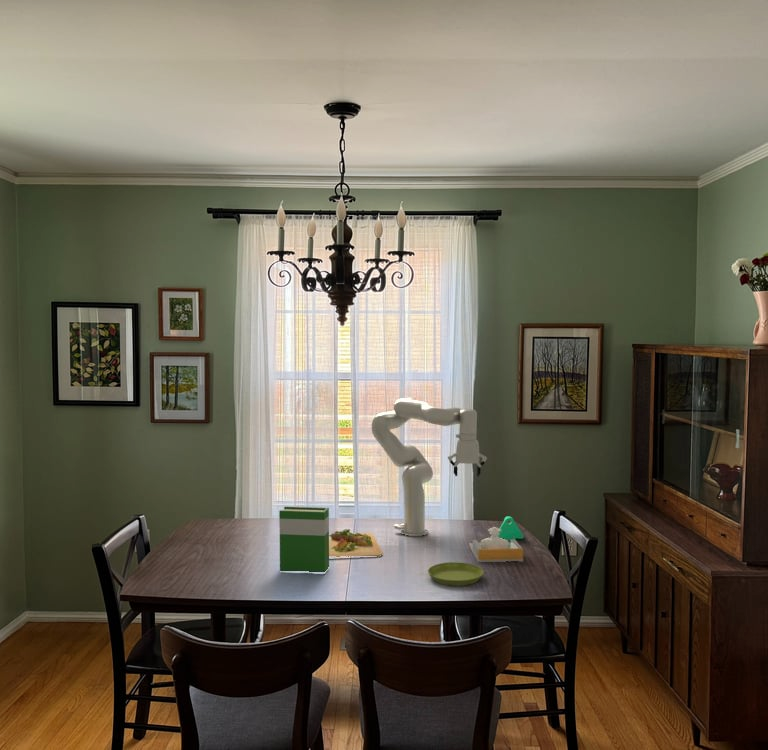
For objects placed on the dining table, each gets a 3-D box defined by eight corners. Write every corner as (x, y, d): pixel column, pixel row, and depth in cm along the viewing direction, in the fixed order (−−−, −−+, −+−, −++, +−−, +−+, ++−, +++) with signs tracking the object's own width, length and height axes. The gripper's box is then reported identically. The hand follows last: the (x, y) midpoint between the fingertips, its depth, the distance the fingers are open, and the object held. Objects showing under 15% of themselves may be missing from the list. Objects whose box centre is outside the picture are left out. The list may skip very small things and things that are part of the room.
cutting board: (383, 558, 285) (383, 540, 285) (326, 561, 281) (326, 543, 281) (372, 536, 319) (372, 519, 319) (321, 538, 316) (321, 522, 316)
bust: (509, 557, 287) (507, 532, 294) (510, 550, 281) (509, 524, 287) (480, 557, 288) (479, 531, 294) (481, 550, 282) (480, 524, 288)
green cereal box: (279, 572, 265) (279, 510, 264) (285, 566, 273) (284, 506, 272) (324, 574, 263) (324, 512, 262) (329, 568, 270) (328, 507, 269)
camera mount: (520, 536, 316) (520, 514, 316) (523, 540, 309) (523, 518, 308) (494, 536, 317) (494, 513, 316) (496, 540, 309) (496, 517, 309)
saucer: (448, 566, 272) (448, 558, 272) (494, 577, 259) (494, 569, 259) (416, 580, 257) (416, 571, 256) (463, 592, 243) (463, 583, 243)
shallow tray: (478, 562, 277) (478, 549, 277) (468, 545, 301) (468, 533, 301) (523, 561, 278) (523, 549, 278) (509, 544, 302) (509, 533, 302)
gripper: (449, 438, 302) (448, 477, 302) (488, 438, 302) (487, 477, 303) (447, 435, 309) (446, 473, 310) (485, 436, 310) (484, 474, 310)
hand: (466, 475), depth 306 cm, fingers open, 9 cm apart
